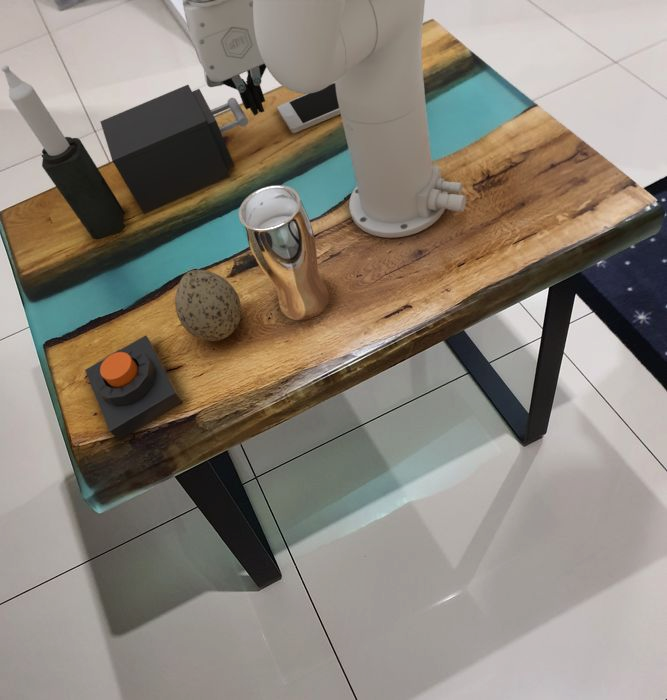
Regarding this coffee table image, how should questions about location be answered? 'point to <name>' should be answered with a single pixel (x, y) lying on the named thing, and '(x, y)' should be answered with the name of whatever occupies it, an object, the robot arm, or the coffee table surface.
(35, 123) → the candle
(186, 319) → the decorative egg
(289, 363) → the coffee table surface
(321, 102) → the smartphone
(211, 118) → the fryer drawer
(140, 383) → the block
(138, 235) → the coffee table surface
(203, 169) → the fryer
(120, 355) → the button
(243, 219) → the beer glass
